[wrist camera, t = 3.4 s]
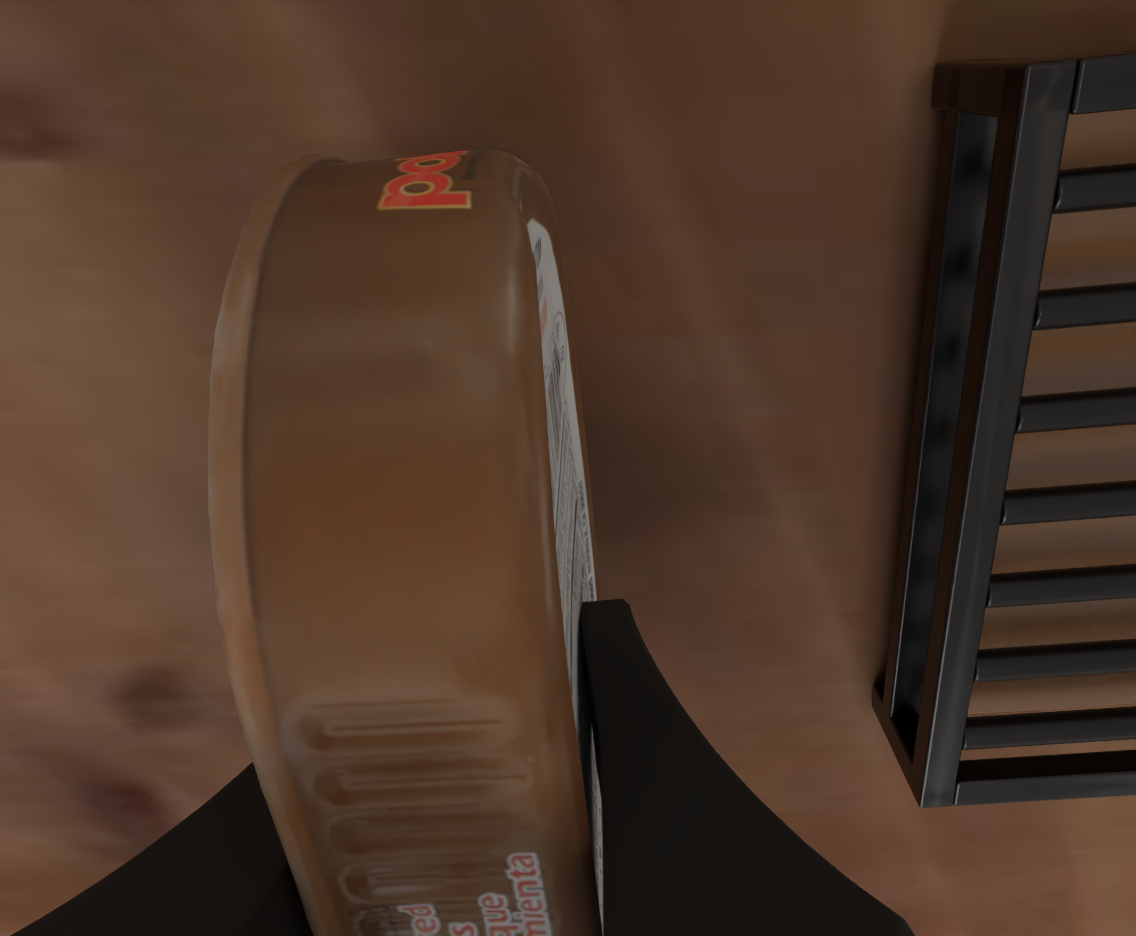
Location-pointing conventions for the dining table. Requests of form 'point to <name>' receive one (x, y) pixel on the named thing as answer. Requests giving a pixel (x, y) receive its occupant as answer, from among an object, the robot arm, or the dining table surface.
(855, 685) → the dining table surface
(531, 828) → the tin
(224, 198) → the dining table surface
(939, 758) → the rack
